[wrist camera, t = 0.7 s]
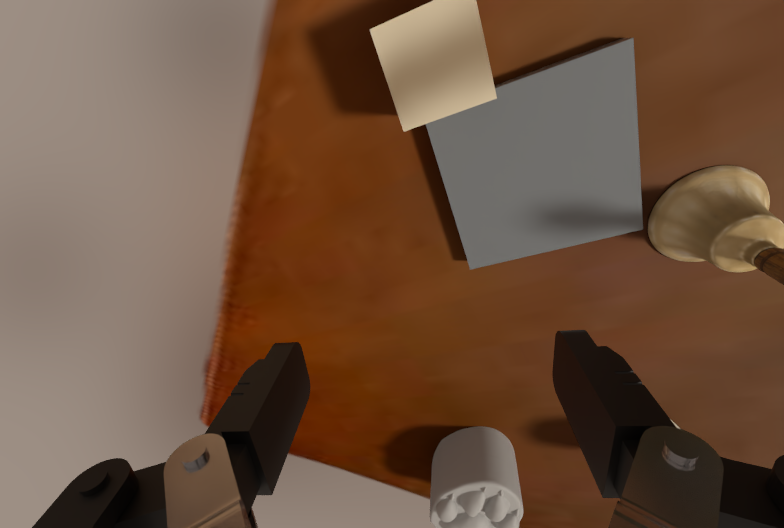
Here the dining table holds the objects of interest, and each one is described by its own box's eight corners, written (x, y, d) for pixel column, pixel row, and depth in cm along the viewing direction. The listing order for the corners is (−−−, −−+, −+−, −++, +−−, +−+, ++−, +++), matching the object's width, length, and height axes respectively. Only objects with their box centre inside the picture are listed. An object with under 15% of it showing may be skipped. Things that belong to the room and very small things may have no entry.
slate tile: (423, 111, 29) (422, 114, 28) (624, 37, 25) (633, 37, 24) (469, 261, 35) (470, 269, 34) (635, 221, 31) (643, 229, 30)
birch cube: (384, 31, 27) (369, 29, 21) (467, -6, 25) (472, -18, 20) (411, 115, 29) (403, 131, 24) (488, 87, 28) (497, 98, 22)
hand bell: (700, 147, 28) (940, 252, 14) (794, 190, 28) (1109, 329, 15) (624, 238, 32) (752, 384, 18) (707, 273, 33) (889, 439, 19)
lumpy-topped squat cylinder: (426, 472, 54) (422, 540, 47) (449, 417, 47) (449, 487, 40) (496, 488, 54) (503, 559, 47) (529, 436, 47) (544, 510, 40)
